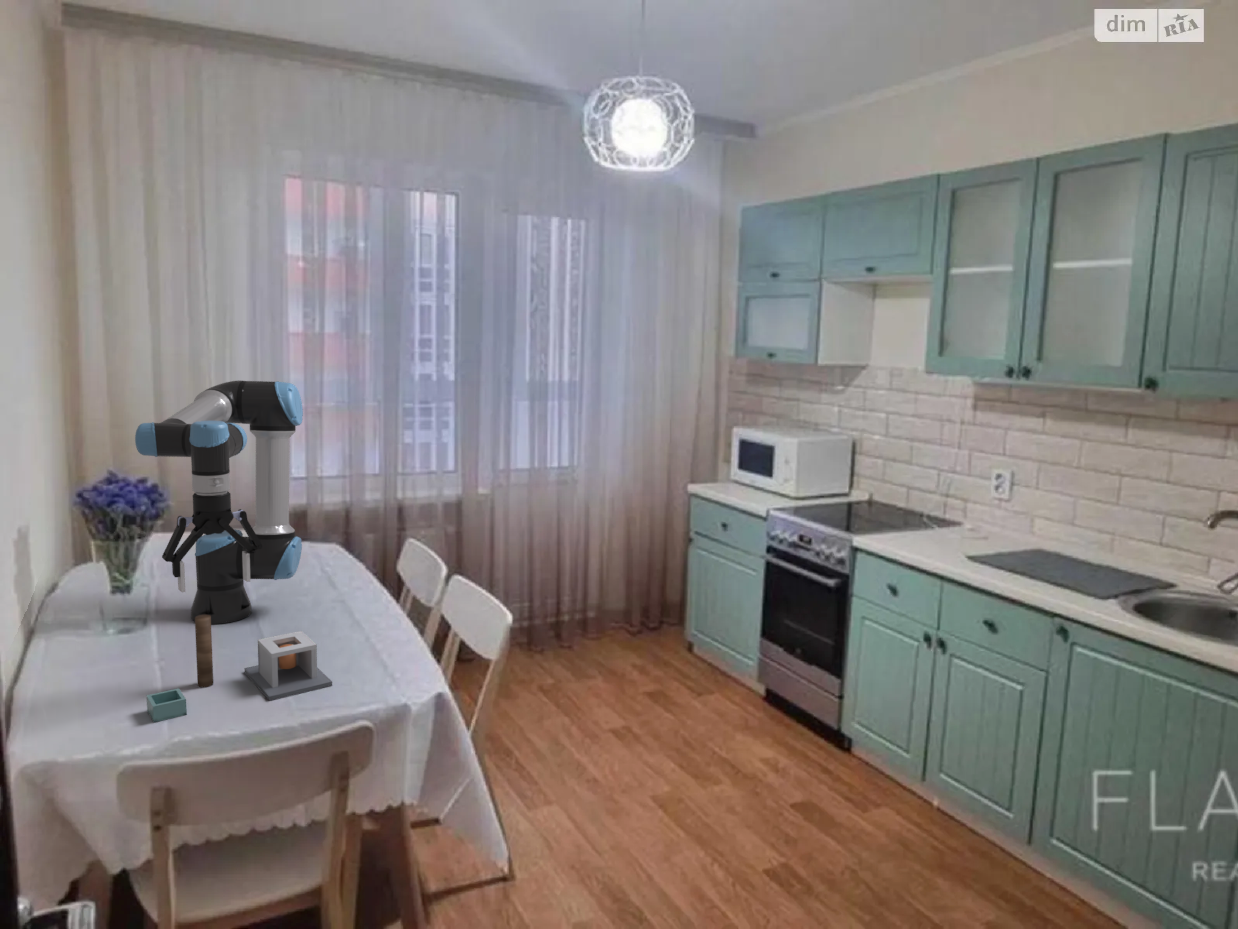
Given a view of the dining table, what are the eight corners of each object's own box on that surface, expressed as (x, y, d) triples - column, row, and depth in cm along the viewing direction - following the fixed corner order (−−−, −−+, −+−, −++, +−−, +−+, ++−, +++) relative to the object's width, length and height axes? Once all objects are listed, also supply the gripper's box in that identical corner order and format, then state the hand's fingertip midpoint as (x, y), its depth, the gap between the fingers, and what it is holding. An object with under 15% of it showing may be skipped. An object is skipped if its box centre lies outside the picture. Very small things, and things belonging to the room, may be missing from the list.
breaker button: (276, 664, 198) (276, 646, 197) (293, 661, 201) (292, 643, 200) (281, 670, 195) (281, 651, 194) (298, 666, 198) (298, 648, 197)
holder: (147, 711, 180) (146, 695, 180) (179, 703, 184) (178, 688, 184) (153, 722, 176) (152, 706, 175) (186, 714, 179) (186, 699, 179)
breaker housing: (244, 672, 201) (243, 635, 199) (304, 659, 210) (303, 624, 208) (269, 701, 187) (268, 662, 186) (332, 685, 196) (331, 648, 194)
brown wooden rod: (196, 683, 194) (193, 616, 191) (211, 680, 196) (208, 613, 193) (199, 688, 191) (196, 620, 189) (215, 685, 193) (212, 618, 191)
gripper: (152, 501, 176) (157, 600, 180) (275, 489, 192) (277, 580, 196) (143, 494, 182) (148, 590, 185) (264, 483, 198) (266, 571, 202)
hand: (215, 585), depth 191 cm, fingers open, 13 cm apart
